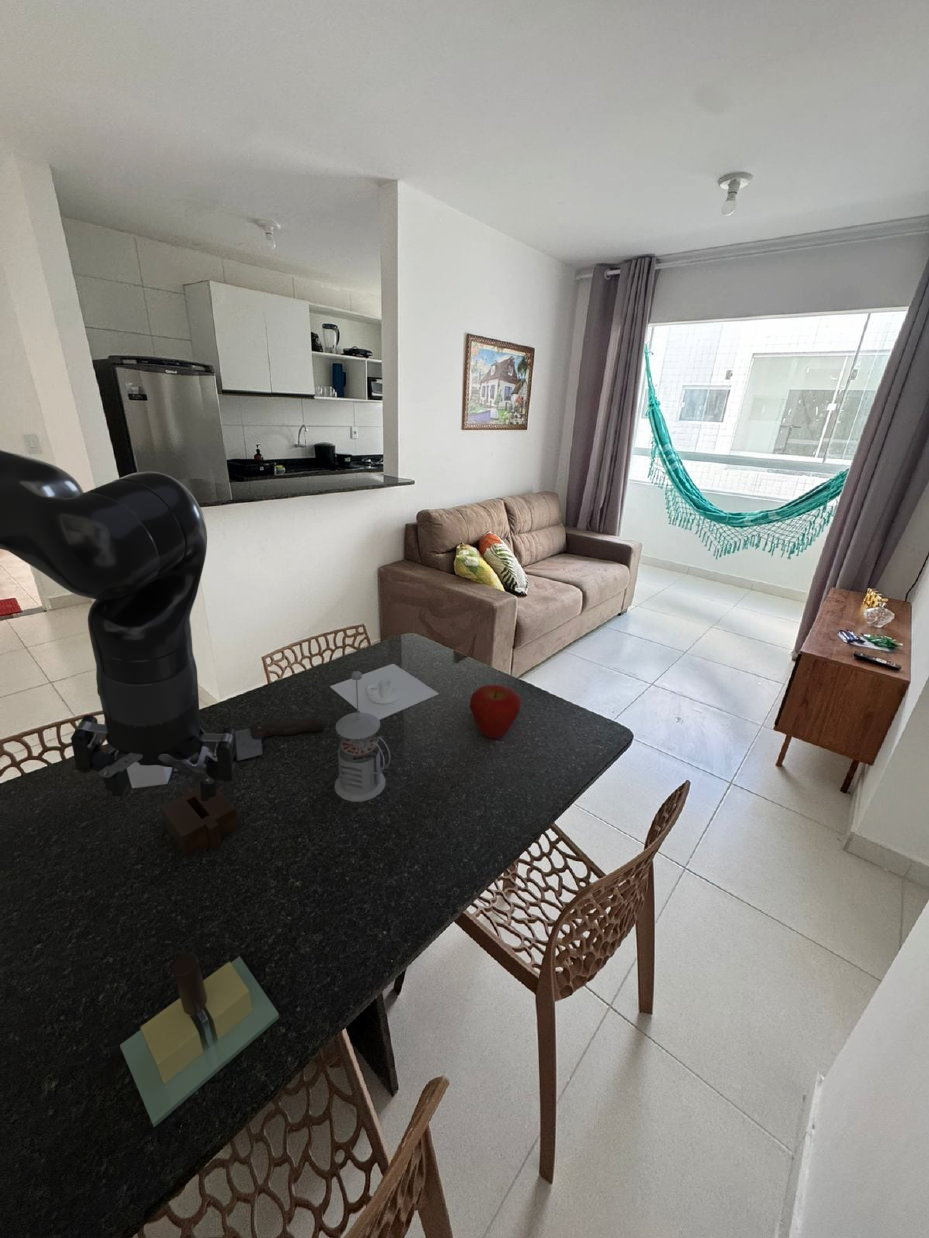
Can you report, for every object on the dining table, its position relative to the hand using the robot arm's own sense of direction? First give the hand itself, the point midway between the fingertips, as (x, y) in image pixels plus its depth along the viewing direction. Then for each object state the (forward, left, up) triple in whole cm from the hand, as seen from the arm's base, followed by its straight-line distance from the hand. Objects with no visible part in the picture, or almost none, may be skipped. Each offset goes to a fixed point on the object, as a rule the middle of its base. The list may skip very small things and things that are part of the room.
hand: (165, 791), depth 56 cm
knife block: (+9, +23, -29) cm, 39 cm away
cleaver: (+26, +38, -29) cm, 55 cm away
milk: (+8, +42, -29) cm, 52 cm away
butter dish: (-4, -8, -29) cm, 30 cm away
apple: (+66, +5, -29) cm, 73 cm away
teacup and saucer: (+60, +36, -29) cm, 76 cm away
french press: (+35, +12, -29) cm, 48 cm away
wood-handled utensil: (-4, -8, -28) cm, 30 cm away
